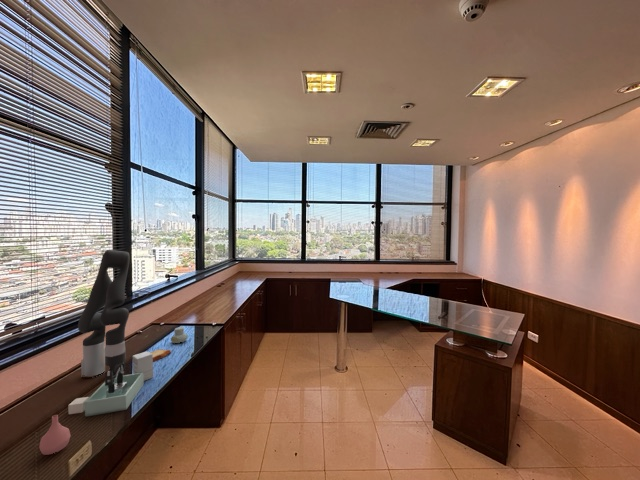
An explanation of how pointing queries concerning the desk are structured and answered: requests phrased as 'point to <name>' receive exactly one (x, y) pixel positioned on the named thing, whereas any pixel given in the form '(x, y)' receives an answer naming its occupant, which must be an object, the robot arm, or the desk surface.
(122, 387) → the tin block
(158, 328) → the desk surface
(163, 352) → the slice of bread
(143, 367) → the supplement box
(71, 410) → the cream box
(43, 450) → the pink vase
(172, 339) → the air freshener
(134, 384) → the tote
